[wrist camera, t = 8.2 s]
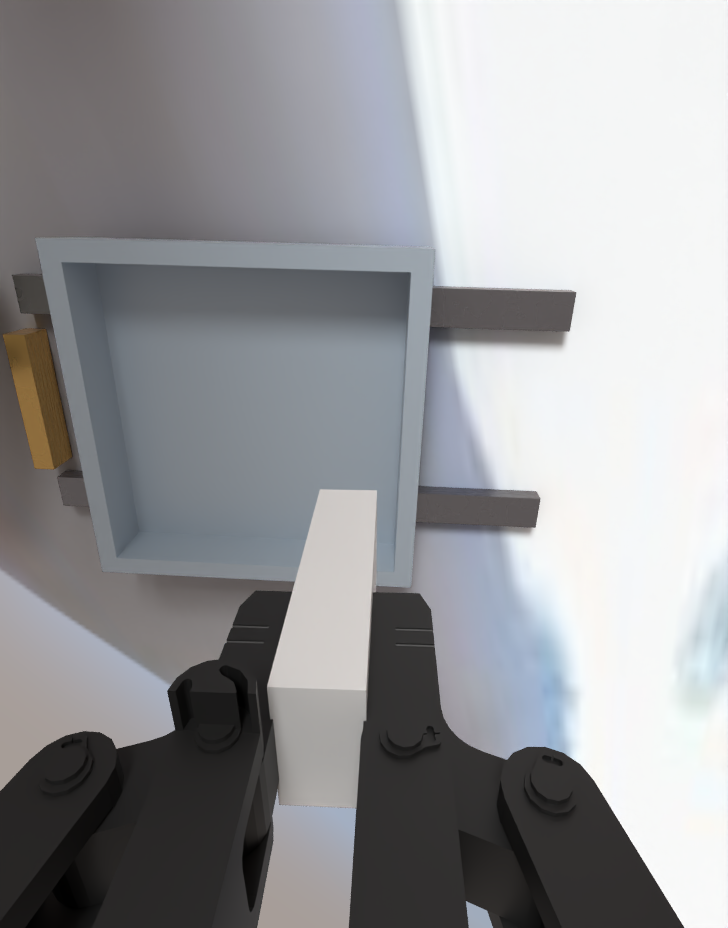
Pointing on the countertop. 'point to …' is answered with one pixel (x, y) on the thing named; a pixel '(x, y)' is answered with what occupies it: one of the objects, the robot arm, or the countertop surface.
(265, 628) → the robot arm
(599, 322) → the countertop surface
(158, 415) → the shallow square tray
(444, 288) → the rails
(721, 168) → the countertop surface
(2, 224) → the countertop surface
